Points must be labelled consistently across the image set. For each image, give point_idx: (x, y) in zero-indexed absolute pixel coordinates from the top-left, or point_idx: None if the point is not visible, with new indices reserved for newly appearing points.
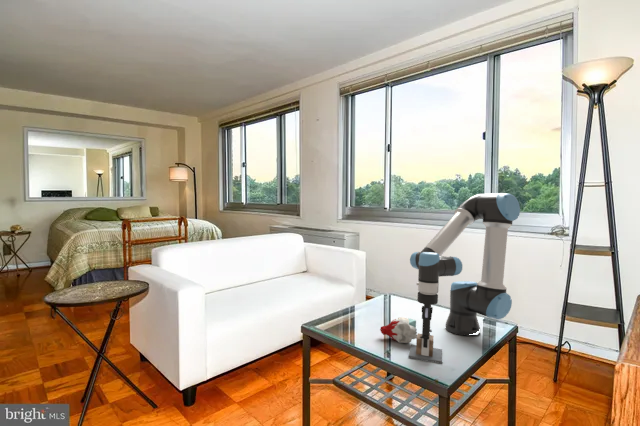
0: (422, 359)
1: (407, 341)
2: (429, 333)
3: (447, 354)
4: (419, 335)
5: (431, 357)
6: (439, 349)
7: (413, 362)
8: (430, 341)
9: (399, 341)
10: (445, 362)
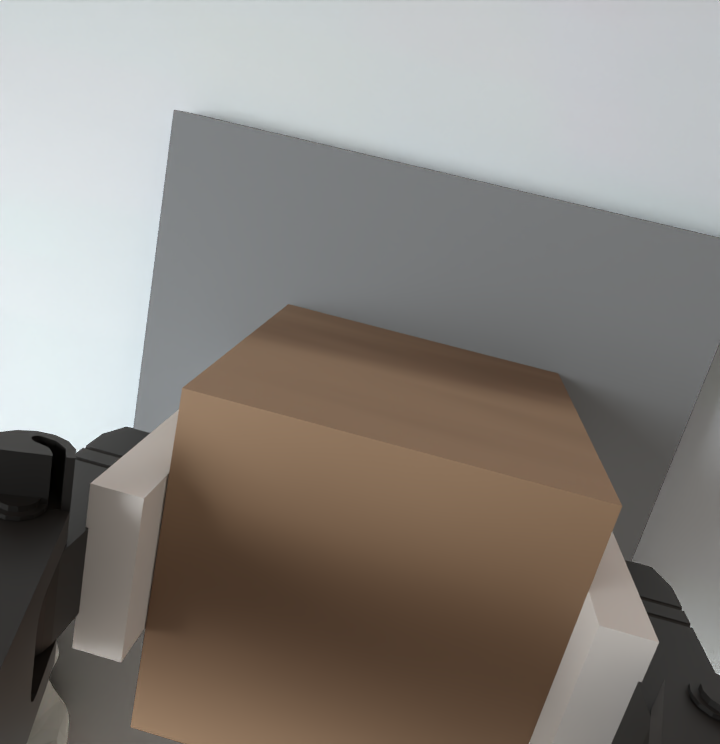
0: (634, 536)
1: (56, 643)
2: (148, 507)
3: (309, 37)
4: (273, 729)
5: (593, 398)
6: (195, 166)
7: (715, 665)
8: (590, 548)
9: (65, 729)
10: (683, 165)
